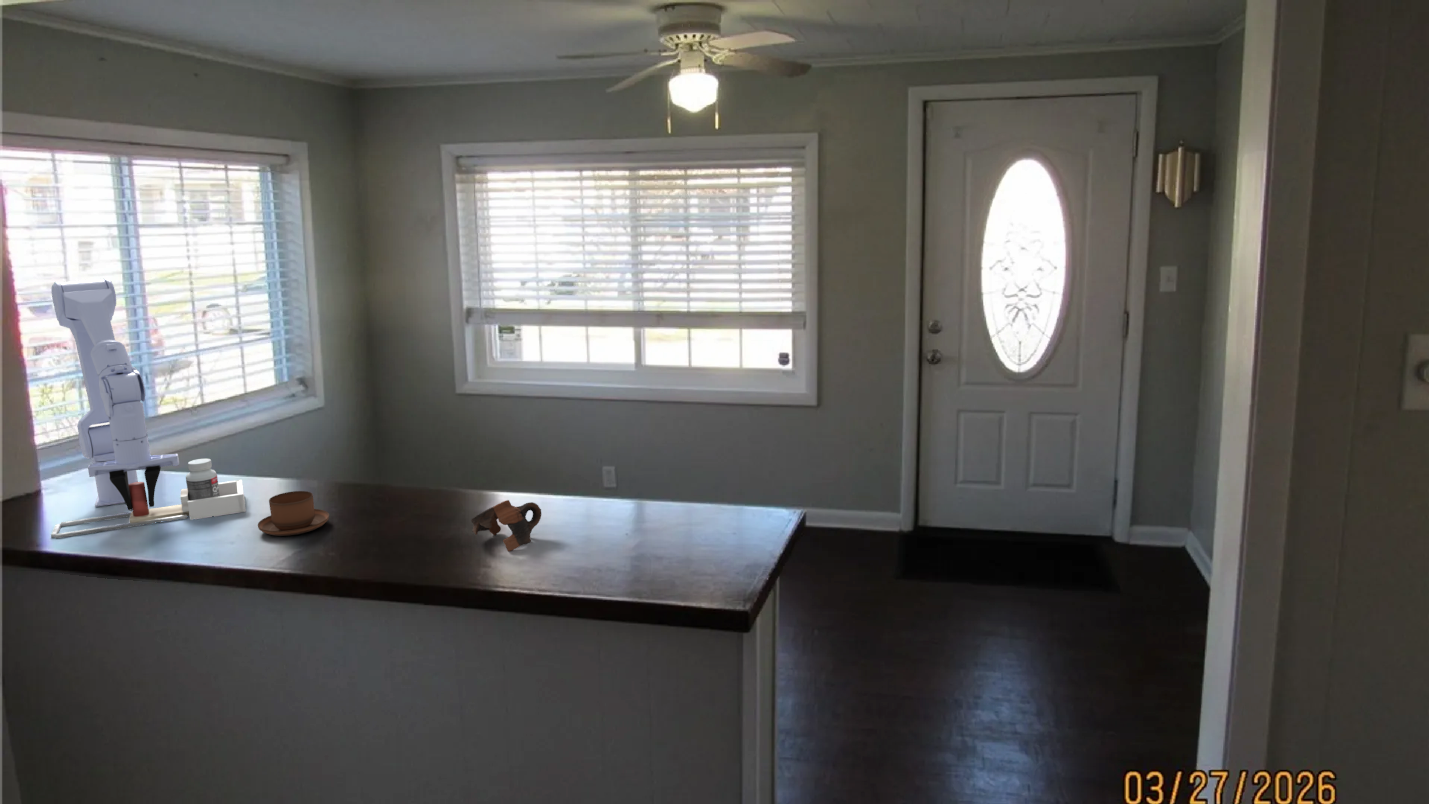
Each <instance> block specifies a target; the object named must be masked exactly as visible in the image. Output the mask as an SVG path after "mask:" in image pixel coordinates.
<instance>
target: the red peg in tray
mask: <svg viewBox="0 0 1429 804" xmlns="http://www.w3.org/2000/svg"><path fill="white" fill-rule="evenodd" d="M145 484H146V483H145V482H144V481H138V482H134V483H131V484H129V485H128V486H129V492H130V498H131V503H132V510H131V511H130V512H131V515H130V516H129V519H128V520H129V522H128V523H132V522H138V521H145V520H151V519H158V518H165V517H171V516H178V515H184V514H187V516H188V517H190V515H189V508H188V501H189V497H188V490H187V488H182V489H180V495H179V496H180V497H179V499H180V504H173V505H168V506H160V507H155V508H154V507H153V508H149V502H148V497H147V496H148V495H147V492H146V485H145Z"/></svg>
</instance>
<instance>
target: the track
mask: <svg viewBox="0 0 1429 804" xmlns="http://www.w3.org/2000/svg"><path fill="white" fill-rule="evenodd" d="M131 512H132V511H130V512H129V511H128V512H122V513H117V514H116V513H115V514H110V515H102V516H96V517H88V518H87V517H86V518H82V519H75V520H68V521H61V522H60V523H56V524H55V525H54V527H53V529H52V531H51V534H50V538H52V539H54V538H55V539H62V538H68V537H74V536H75V537H76V536H82V535H87V534H95V533H100V532H107V531H115V530H121V529H126V528H134V527H140V526H139V525H141V526H144V525H143V524H147V525H153V524H152V523H154V524H156V523H155V522H160V523H162V522H161V521H167V522H171V521H172V520H173V521H178V520H177V519H180V520H185V519H188V517H189V516H188V517H187V514H184V515H178V516H171V517H165V518H158V519H151V520H145V521H138V522H132V523H130V522H126V523H120V524H114V525H113V524H112V525H107V526H101V527H100V526H99V527H93V528H86V529H80V530H79V529H78V530H74V531H73V530H72V531H67V532H60V530H61V528H63V527H67V526H74V525H82V524H89V523H94V522H101V521H108V520H116V519H121V518H128V517H129V518H130V515H131ZM59 532H60V533H59Z"/></svg>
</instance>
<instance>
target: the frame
mask: <svg viewBox="0 0 1429 804" xmlns="http://www.w3.org/2000/svg"><path fill="white" fill-rule="evenodd" d="M243 485H244V484H243V479H237V480H230V481H229V480H228V481H224V482H222V481H221V482H218V486H219V493H220V496H218V497H211V498H205V499H198V500H191V501H188V508H189V515H190V516H189V521H193V519H195V520H200V519H201V520H202V519H206V518H213V517H212V516H214V517H220V516H225V515H231V514H239V513H246V512H247V510H246V509H247V508H246V501H245V492H244V486H243Z"/></svg>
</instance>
